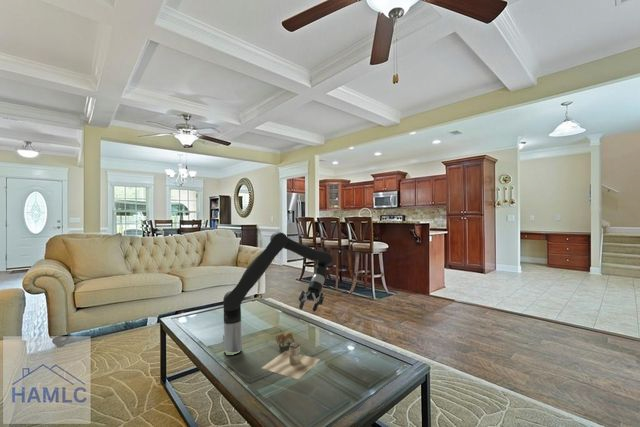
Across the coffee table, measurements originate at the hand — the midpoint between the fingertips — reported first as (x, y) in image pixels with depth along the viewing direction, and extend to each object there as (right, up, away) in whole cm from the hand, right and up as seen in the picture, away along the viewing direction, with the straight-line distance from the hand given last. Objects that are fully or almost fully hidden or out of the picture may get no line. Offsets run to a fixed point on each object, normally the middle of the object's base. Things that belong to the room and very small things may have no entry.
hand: (307, 309), depth 156 cm
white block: (-6, -23, -11) cm, 26 cm away
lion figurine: (-13, -24, +9) cm, 29 cm away
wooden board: (-7, -24, -12) cm, 27 cm away
